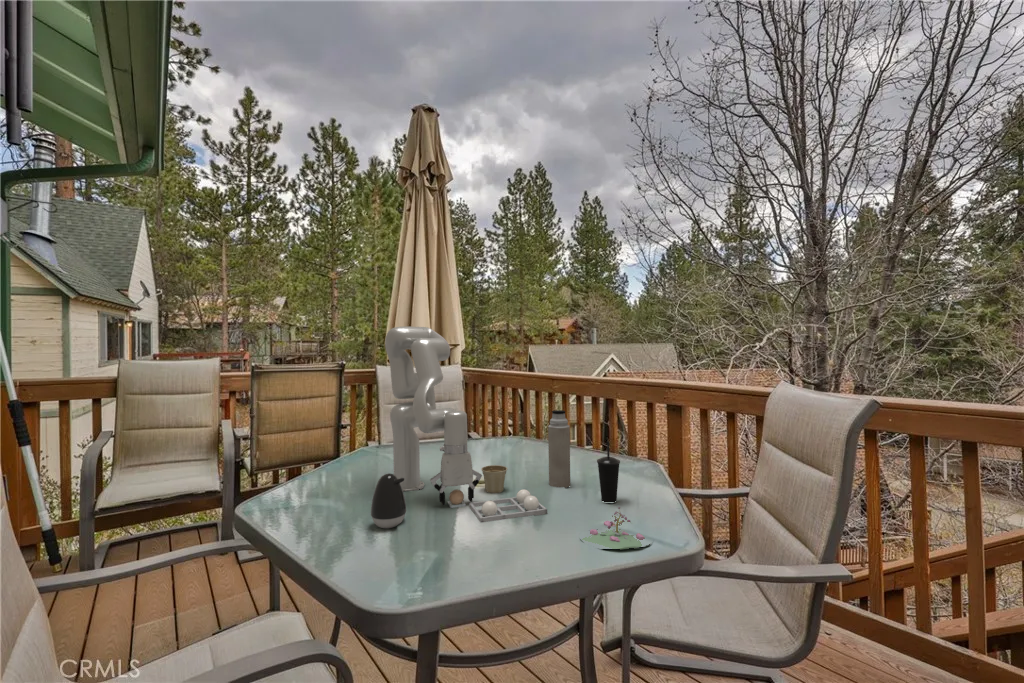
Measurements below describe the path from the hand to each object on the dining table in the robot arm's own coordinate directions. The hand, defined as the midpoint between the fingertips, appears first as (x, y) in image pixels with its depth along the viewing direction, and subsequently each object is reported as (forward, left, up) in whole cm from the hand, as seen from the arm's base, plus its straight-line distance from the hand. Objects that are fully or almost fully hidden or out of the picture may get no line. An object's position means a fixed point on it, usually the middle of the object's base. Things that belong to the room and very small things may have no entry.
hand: (456, 502), depth 154 cm
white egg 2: (+21, -7, -1) cm, 22 cm away
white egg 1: (+7, -14, -1) cm, 16 cm away
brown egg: (0, 0, -1) cm, 1 cm away
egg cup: (0, 0, -2) cm, 2 cm away
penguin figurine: (-22, -8, -2) cm, 24 cm away
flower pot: (+16, +10, -2) cm, 19 cm away
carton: (+14, -10, -2) cm, 17 cm away
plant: (+37, -36, -3) cm, 52 cm away
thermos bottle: (+41, +9, -2) cm, 42 cm away
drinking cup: (+49, -13, -2) cm, 51 cm away
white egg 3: (+21, -14, -1) cm, 25 cm away
